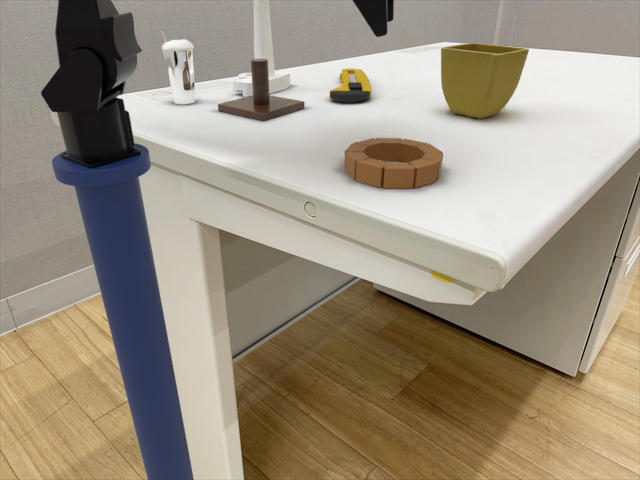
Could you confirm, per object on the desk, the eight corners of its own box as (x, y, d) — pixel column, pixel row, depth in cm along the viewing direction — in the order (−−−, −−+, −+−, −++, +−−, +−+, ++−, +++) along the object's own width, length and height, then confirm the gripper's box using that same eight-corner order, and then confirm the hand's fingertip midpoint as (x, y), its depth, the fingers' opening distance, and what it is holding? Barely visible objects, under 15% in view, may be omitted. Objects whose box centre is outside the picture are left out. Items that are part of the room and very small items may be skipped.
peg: (263, 121, 68) (261, 67, 65) (218, 111, 73) (213, 60, 70) (304, 108, 75) (304, 58, 71) (260, 99, 79) (257, 53, 76)
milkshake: (182, 96, 81) (174, 30, 76) (205, 101, 78) (198, 32, 73) (159, 102, 78) (149, 32, 73) (183, 107, 75) (173, 35, 70)
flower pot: (464, 103, 77) (473, 41, 73) (518, 113, 72) (530, 47, 68) (432, 113, 72) (439, 47, 68) (487, 125, 67) (499, 54, 62)
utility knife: (329, 104, 77) (329, 90, 76) (328, 76, 97) (328, 65, 96) (374, 104, 77) (375, 90, 76) (363, 76, 97) (364, 65, 96)
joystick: (253, 98, 80) (244, -46, 71) (219, 92, 84) (207, -45, 74) (295, 86, 88) (293, -44, 79) (263, 81, 92) (257, -44, 82)
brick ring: (413, 197, 46) (416, 176, 45) (326, 173, 51) (326, 154, 50) (456, 167, 52) (459, 149, 51) (375, 149, 58) (376, 132, 57)
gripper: (448, -219, 34) (473, 22, 41) (443, -171, 50) (461, -2, 57) (296, -161, 37) (343, 53, 45) (335, -133, 53) (366, 22, 60)
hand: (385, 28), depth 51 cm, fingers open, 9 cm apart
